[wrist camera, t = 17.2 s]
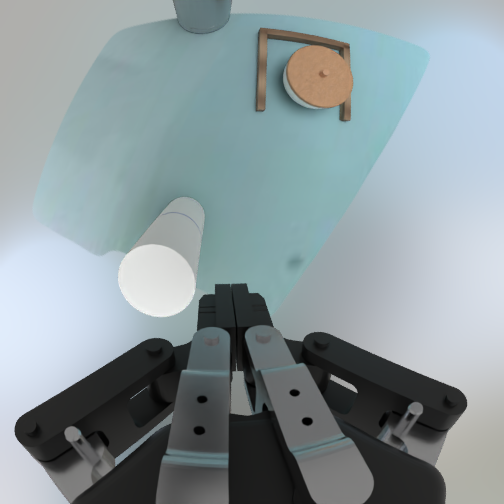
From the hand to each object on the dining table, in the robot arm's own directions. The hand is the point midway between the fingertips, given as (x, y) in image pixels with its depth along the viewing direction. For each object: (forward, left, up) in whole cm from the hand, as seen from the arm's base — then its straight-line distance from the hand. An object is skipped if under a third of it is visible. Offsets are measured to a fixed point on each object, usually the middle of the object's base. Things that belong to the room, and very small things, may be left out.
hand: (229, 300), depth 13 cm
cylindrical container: (+4, -6, -35) cm, 36 cm away
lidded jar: (-20, +14, -35) cm, 43 cm away
